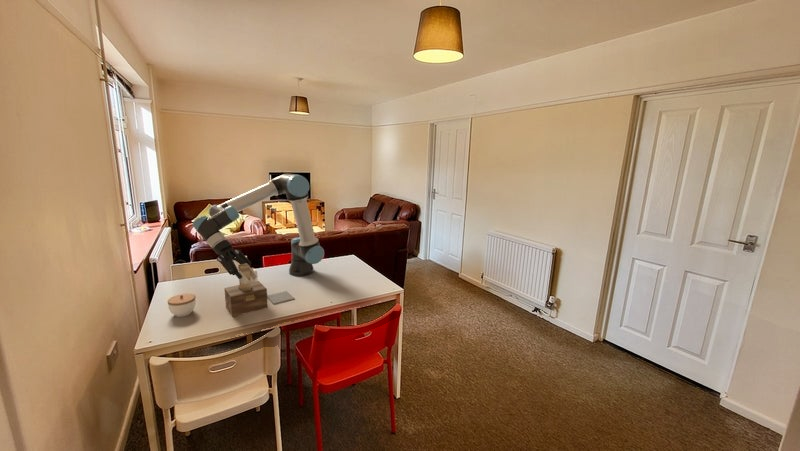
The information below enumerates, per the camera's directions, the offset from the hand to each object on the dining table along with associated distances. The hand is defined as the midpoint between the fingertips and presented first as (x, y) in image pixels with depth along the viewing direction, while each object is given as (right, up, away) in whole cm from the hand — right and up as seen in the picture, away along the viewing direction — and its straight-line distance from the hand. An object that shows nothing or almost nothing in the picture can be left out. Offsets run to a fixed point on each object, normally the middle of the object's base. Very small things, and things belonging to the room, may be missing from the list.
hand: (251, 280), depth 155 cm
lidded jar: (-30, -15, -5) cm, 34 cm away
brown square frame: (-4, -14, +4) cm, 15 cm away
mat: (+8, -12, +16) cm, 21 cm away
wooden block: (-4, -6, +2) cm, 8 cm away
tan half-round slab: (-11, -10, +23) cm, 27 cm away
